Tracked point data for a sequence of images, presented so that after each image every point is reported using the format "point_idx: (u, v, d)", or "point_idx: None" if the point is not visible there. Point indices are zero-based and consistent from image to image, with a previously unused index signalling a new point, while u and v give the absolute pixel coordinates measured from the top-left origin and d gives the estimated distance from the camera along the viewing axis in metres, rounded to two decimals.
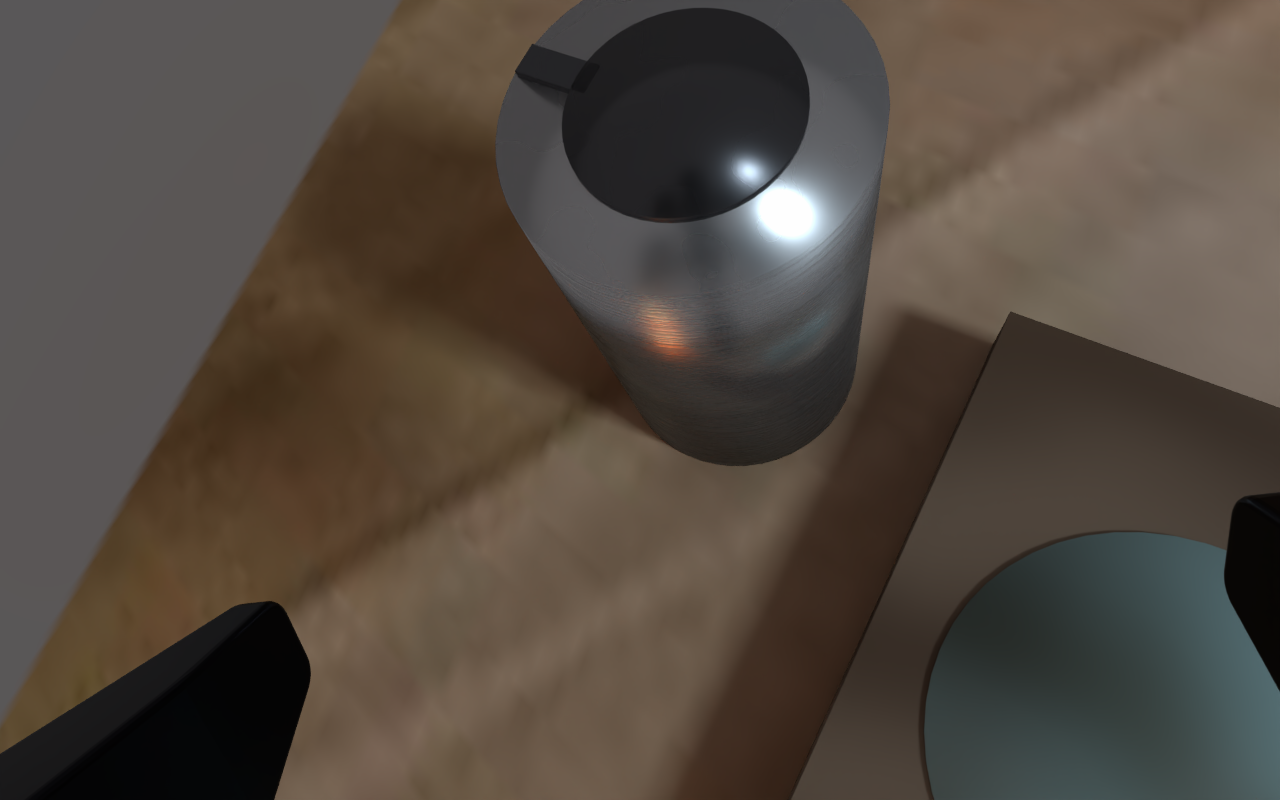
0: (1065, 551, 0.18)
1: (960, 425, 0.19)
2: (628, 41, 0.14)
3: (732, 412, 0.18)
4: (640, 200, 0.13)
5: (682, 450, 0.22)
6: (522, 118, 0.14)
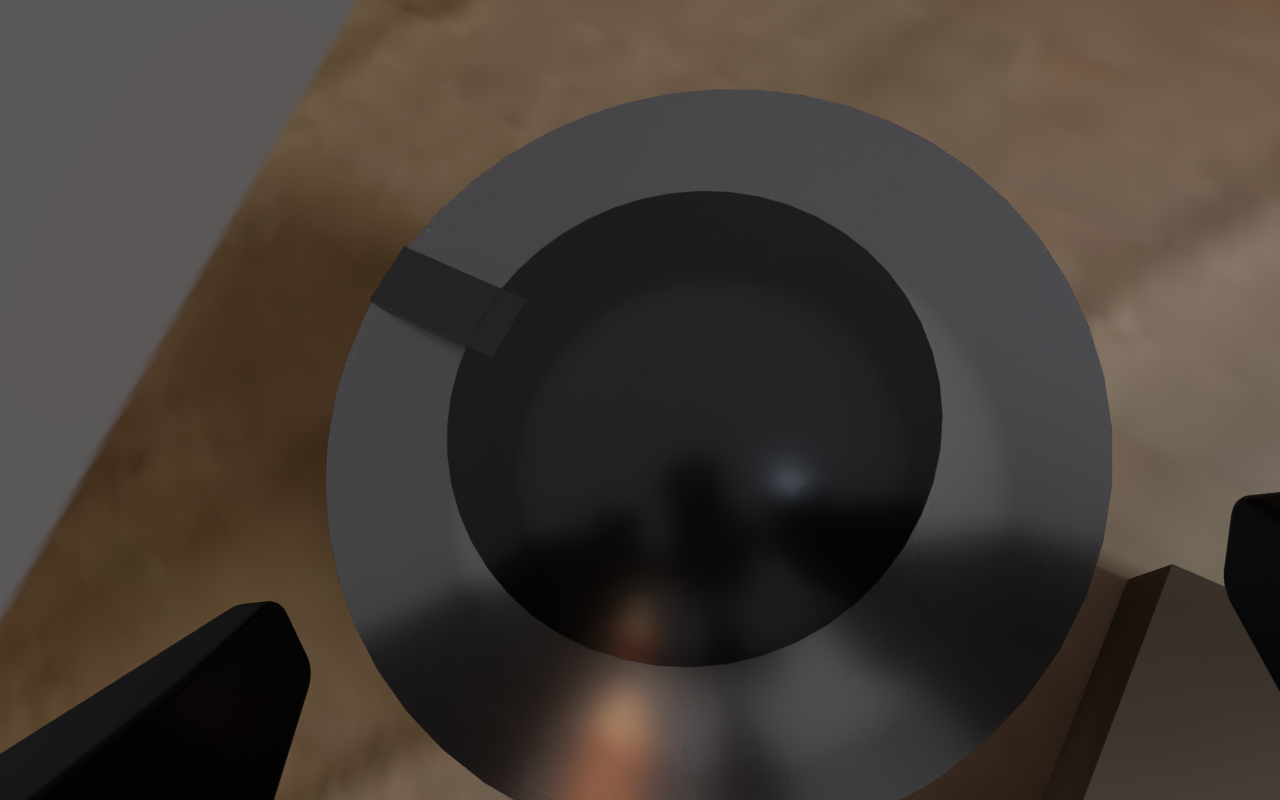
0: None
1: (1104, 749, 0.13)
2: (578, 251, 0.07)
3: None
4: (593, 613, 0.06)
5: None
6: (380, 394, 0.07)
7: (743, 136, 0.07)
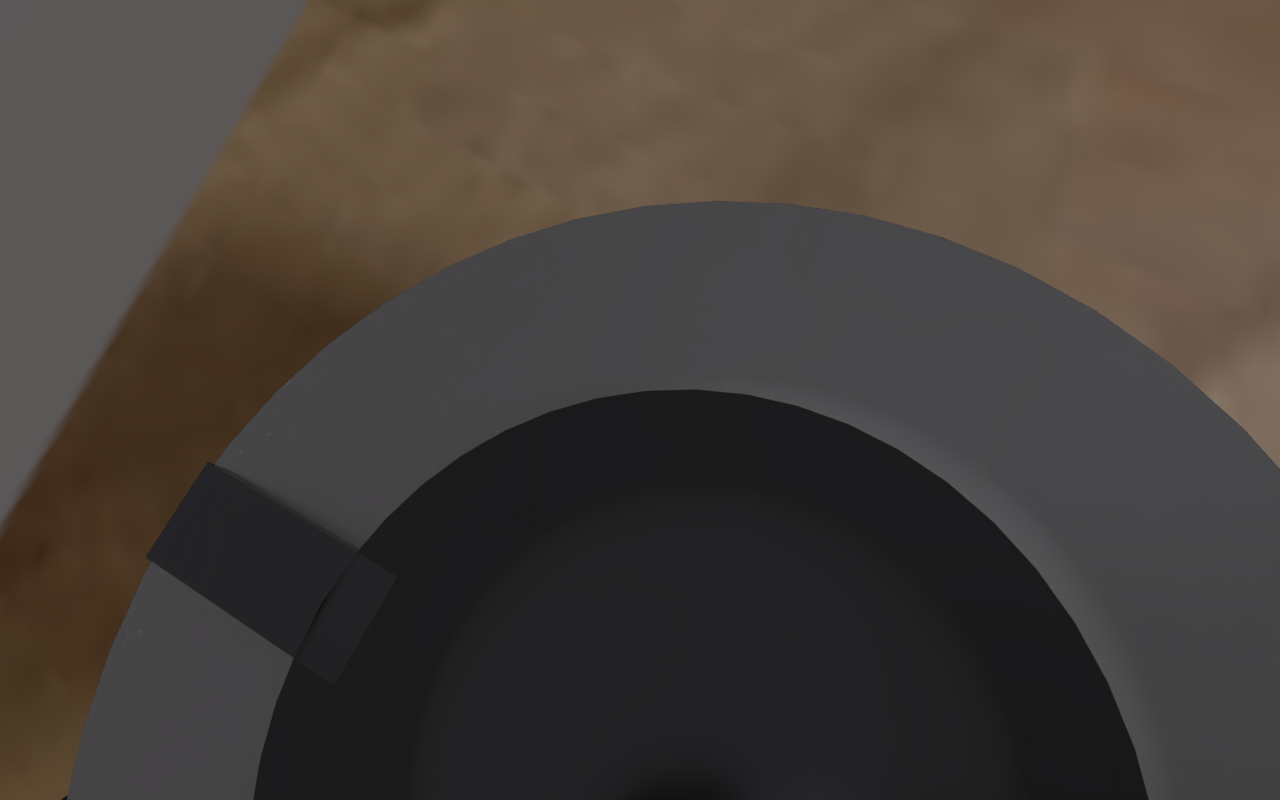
0: None
1: None
2: (487, 492, 0.04)
3: None
4: None
5: None
6: (154, 727, 0.04)
7: (767, 285, 0.04)
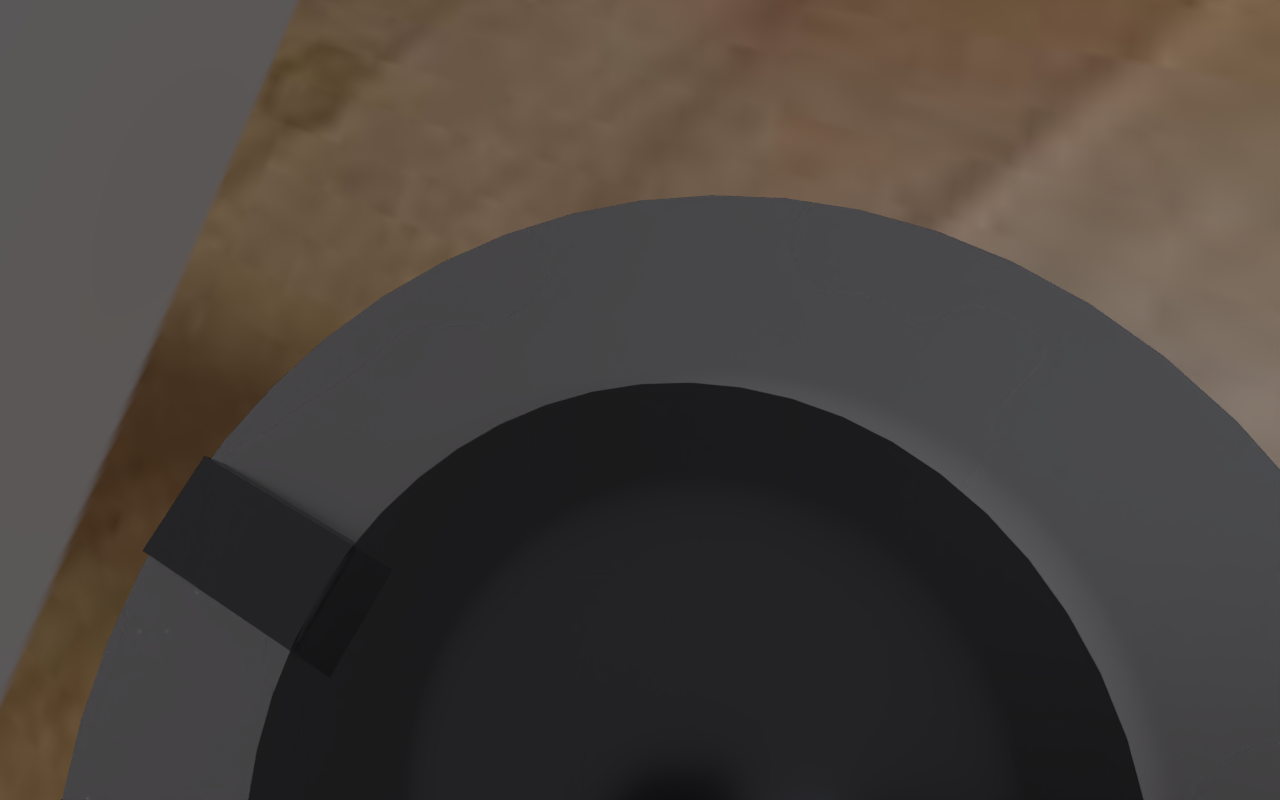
0: None
1: None
2: (484, 484, 0.04)
3: None
4: None
5: None
6: (151, 719, 0.04)
7: (762, 279, 0.04)
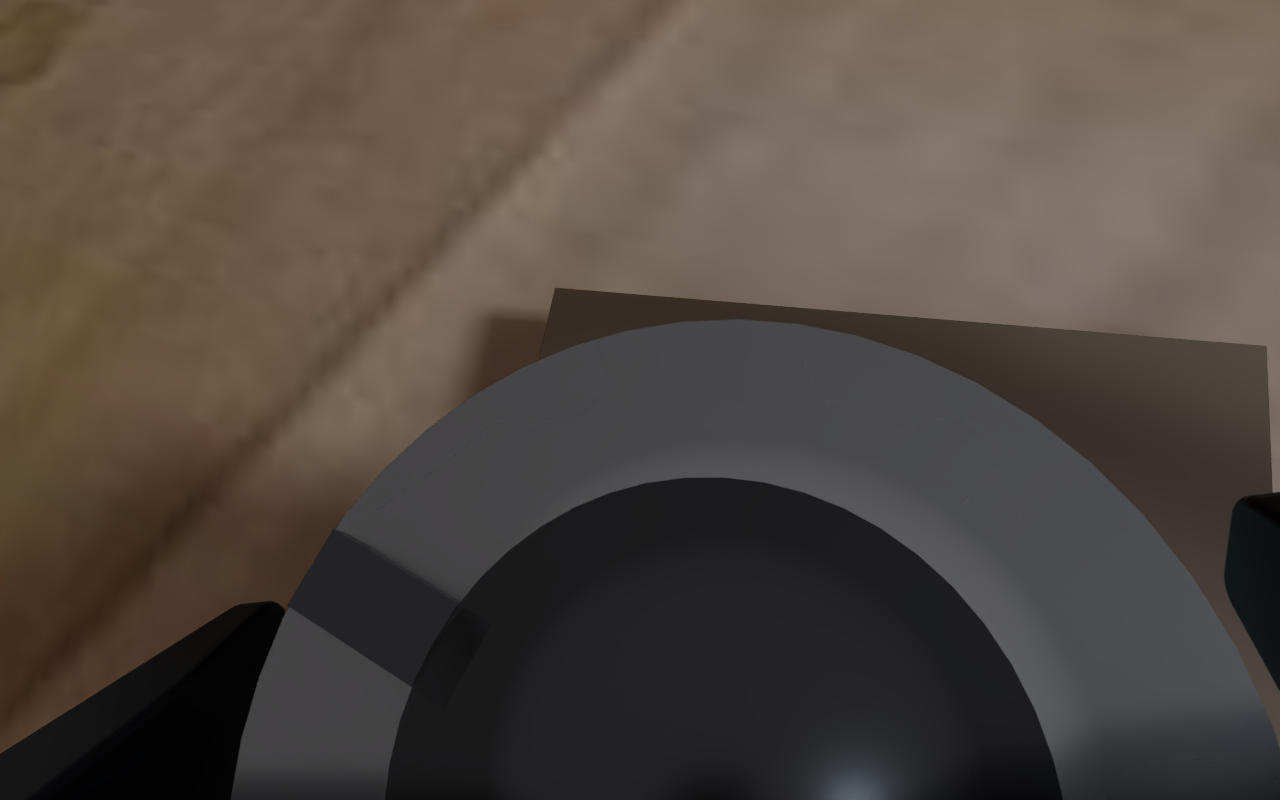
0: None
1: None
2: (561, 556, 0.05)
3: None
4: None
5: None
6: (299, 740, 0.06)
7: (779, 391, 0.06)
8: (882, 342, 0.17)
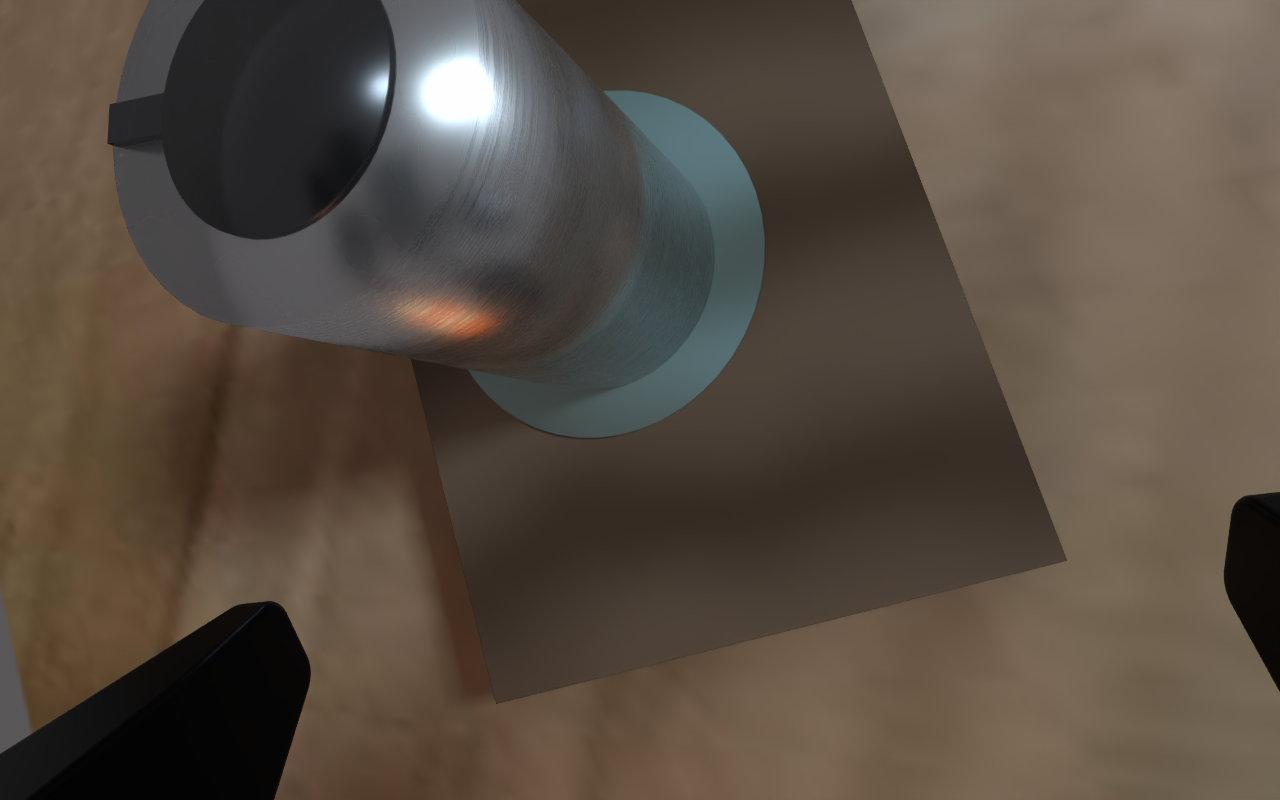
0: None
1: None
2: (191, 47, 0.12)
3: (570, 345, 0.16)
4: (272, 216, 0.11)
5: (584, 390, 0.21)
6: (139, 189, 0.12)
7: None
8: None
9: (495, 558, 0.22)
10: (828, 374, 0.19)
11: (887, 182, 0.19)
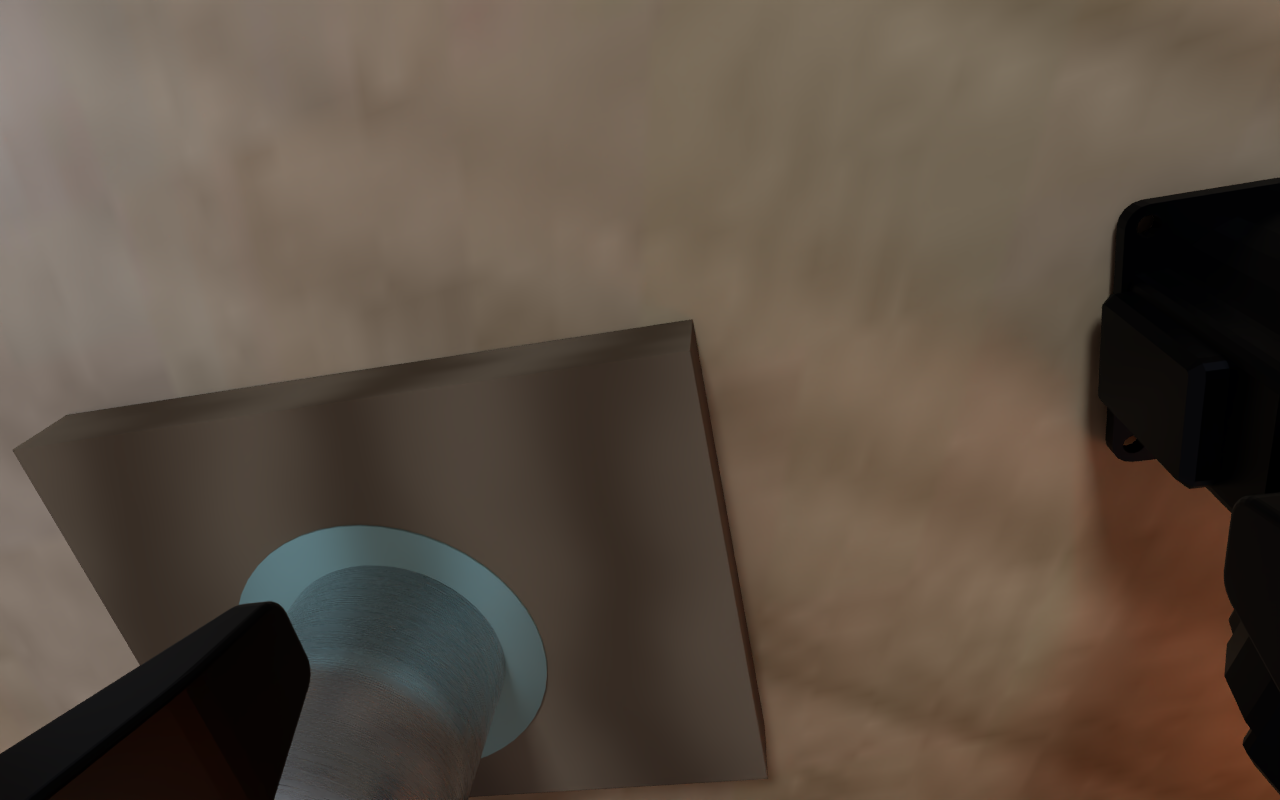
0: None
1: None
2: None
3: (441, 768, 0.18)
4: None
5: (502, 683, 0.23)
6: None
7: None
8: (147, 646, 0.24)
9: (644, 761, 0.25)
10: (507, 498, 0.21)
11: (338, 427, 0.20)
